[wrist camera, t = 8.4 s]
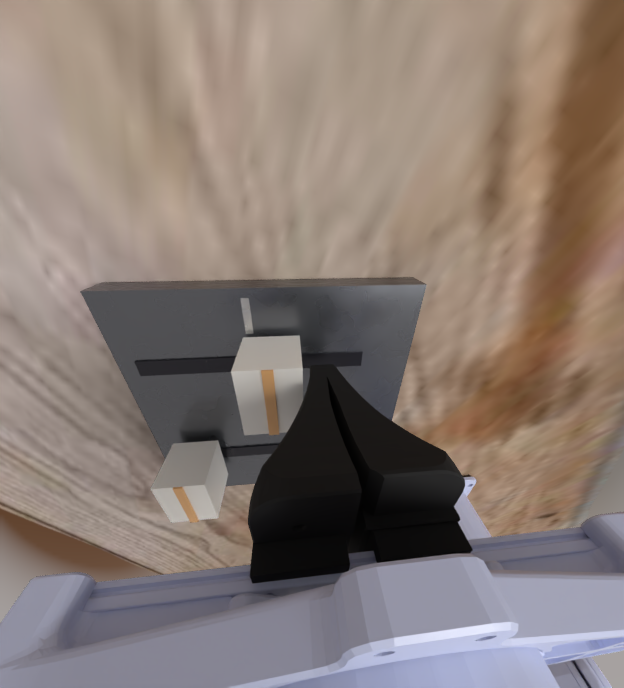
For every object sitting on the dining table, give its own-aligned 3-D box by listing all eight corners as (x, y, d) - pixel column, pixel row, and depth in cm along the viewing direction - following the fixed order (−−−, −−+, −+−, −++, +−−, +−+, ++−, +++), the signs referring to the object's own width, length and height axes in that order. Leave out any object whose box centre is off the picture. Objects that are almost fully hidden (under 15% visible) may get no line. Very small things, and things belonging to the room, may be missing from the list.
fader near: (301, 391, 14) (303, 432, 12) (252, 394, 14) (243, 436, 12) (299, 335, 12) (302, 369, 10) (243, 337, 12) (230, 372, 10)
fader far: (228, 473, 18) (217, 519, 15) (188, 477, 18) (170, 524, 15) (218, 440, 16) (204, 486, 13) (172, 443, 16) (149, 491, 13)
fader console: (373, 457, 22) (378, 473, 21) (187, 472, 21) (180, 491, 19) (413, 277, 13) (427, 285, 12) (102, 282, 12) (78, 291, 11)
